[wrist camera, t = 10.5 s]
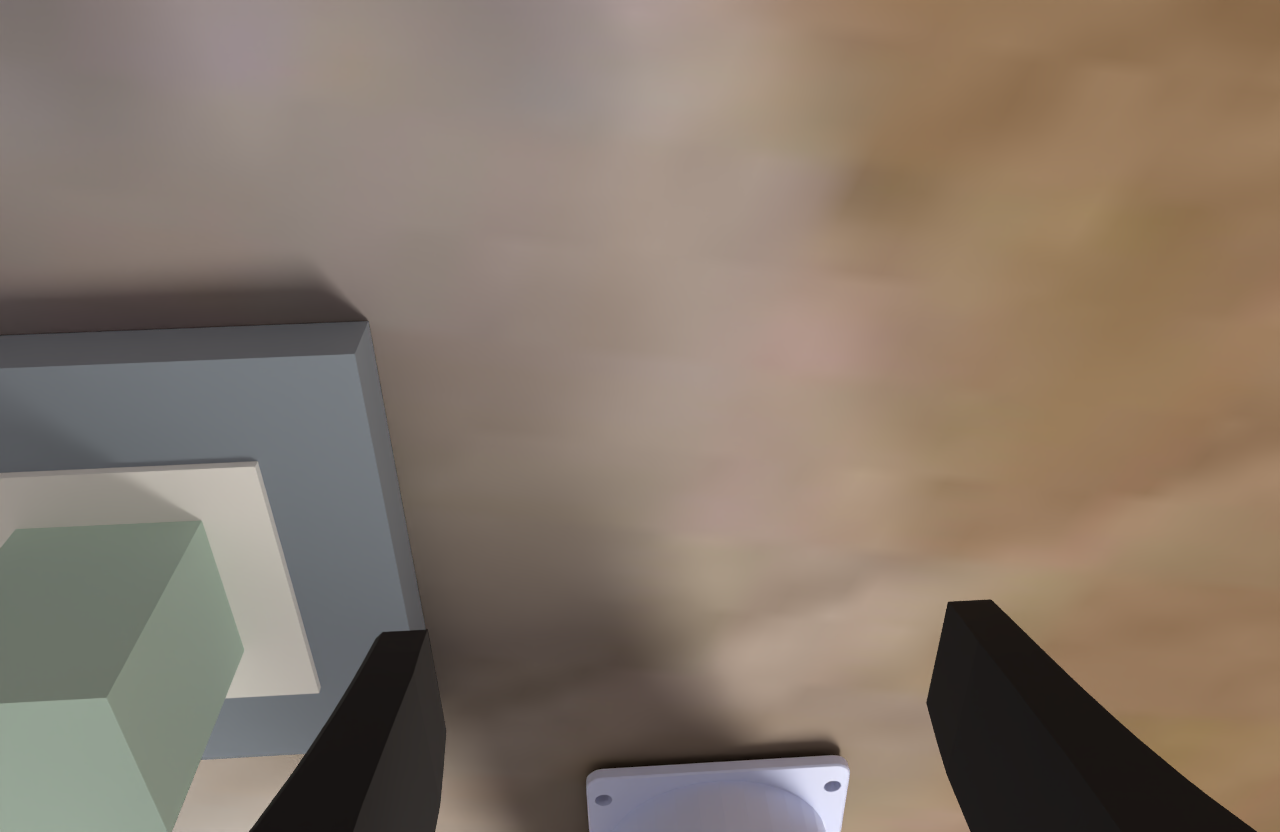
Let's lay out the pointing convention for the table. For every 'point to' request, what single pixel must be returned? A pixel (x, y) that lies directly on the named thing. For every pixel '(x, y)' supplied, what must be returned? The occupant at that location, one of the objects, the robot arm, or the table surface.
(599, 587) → the table surface
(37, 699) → the sage block
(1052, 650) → the table surface
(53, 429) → the slate base
